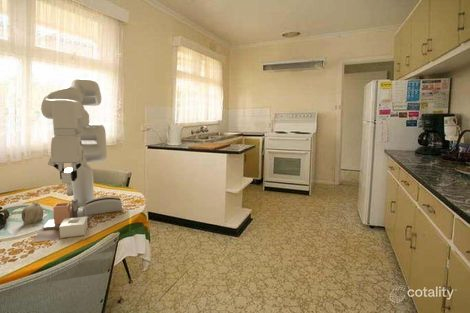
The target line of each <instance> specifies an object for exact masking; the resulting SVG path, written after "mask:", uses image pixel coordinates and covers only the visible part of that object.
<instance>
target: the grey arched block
mask: <svg viewBox="0 0 470 313" xmlns="http://www.w3.org/2000/svg"><path fill="white" fill-rule="evenodd" d="M94 198H95V199H92V200H89V201H87V202H86V205H85V215H86V216H90V215H91V216H92V215H98V214H105V213H110V212H120V211H121V212H122V211H124V209H123V204H122V203H123V202H122V199H121V198H120V197H117V196H100V197H94Z"/></svg>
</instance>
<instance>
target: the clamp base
mask: <svg viewBox="0 0 470 313" xmlns="http://www.w3.org/2000/svg"><path fill="white" fill-rule="evenodd" d="M71 204H72V205H71ZM70 205H71V207H72V217H73V218H76V217H87V221H88V219H89V217H90V215H85V206H78V200H77V199H74V198H73V199H71V201H70ZM46 222H47V221H46ZM44 225H45V226H44ZM44 225H43V226H44V227H43V226H42V227H43V230H45V229H55V228H59V226H60V225H61V224H57V225H54V218H52V219H48V222H47V223H45V224H44Z"/></svg>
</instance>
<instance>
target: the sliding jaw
mask: <svg viewBox="0 0 470 313" xmlns="http://www.w3.org/2000/svg"><path fill="white" fill-rule="evenodd" d="M52 208H53V210H52V211H53V219H54V225H57V224H61V223H62V222H63V220H64V219H66V218H73V217H72V206H71V201H69V202H57V203H55V204H54V206H53V207H52Z"/></svg>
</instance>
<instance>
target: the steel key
mask: <svg viewBox="0 0 470 313" xmlns="http://www.w3.org/2000/svg"><path fill="white" fill-rule="evenodd" d="M72 169H73V168H71V167H66V168H64V171H63V172H62V173H61V177H62V179H61V183H62V184H66V195H67V197H70V196H71V197H72V196H74V194H73V179H72Z"/></svg>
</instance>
